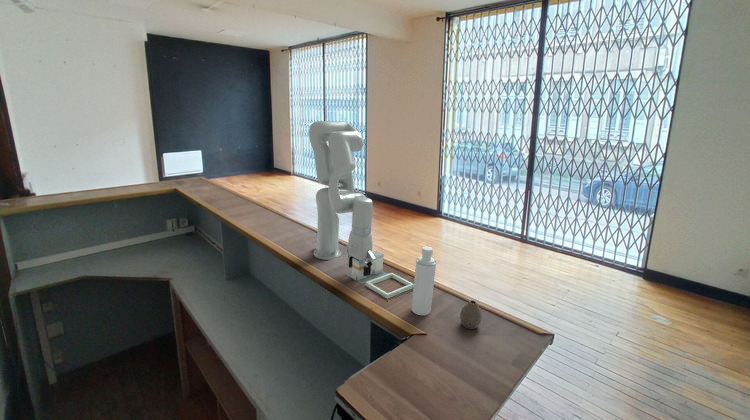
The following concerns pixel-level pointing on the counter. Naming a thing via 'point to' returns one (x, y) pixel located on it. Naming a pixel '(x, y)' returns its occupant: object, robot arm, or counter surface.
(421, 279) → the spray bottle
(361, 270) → the block
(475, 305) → the vase
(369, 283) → the tray
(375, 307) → the counter surface
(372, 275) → the block
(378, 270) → the block
